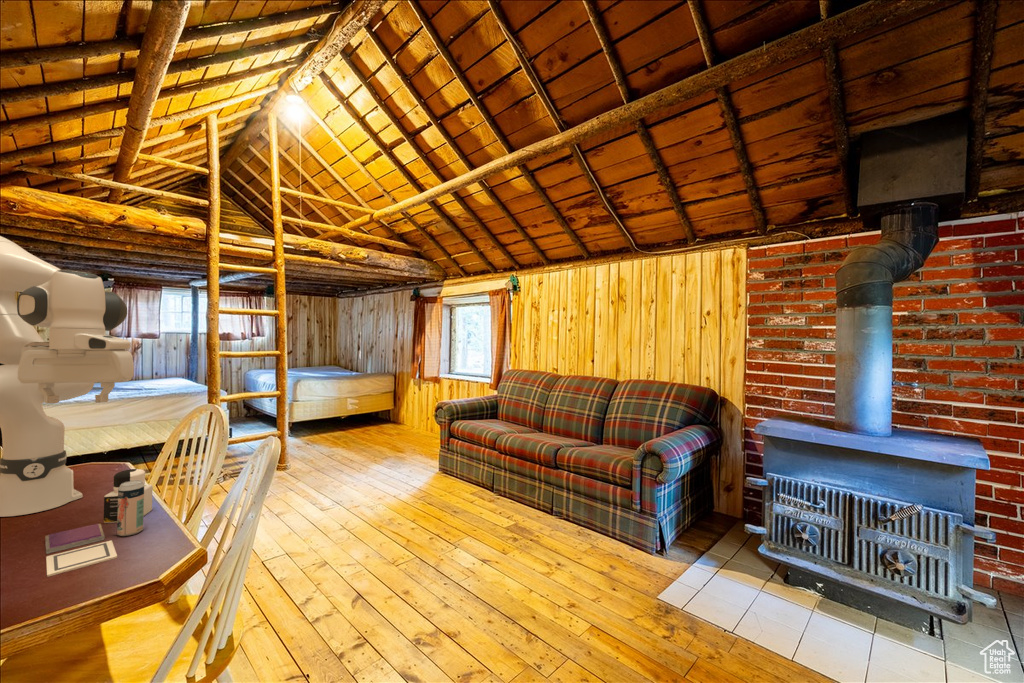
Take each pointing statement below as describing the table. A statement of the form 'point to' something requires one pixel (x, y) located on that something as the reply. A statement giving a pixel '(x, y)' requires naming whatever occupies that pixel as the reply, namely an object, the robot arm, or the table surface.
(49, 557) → the marked card
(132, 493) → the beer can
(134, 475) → the medicine bottle
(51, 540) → the ink pad
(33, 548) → the table surface
